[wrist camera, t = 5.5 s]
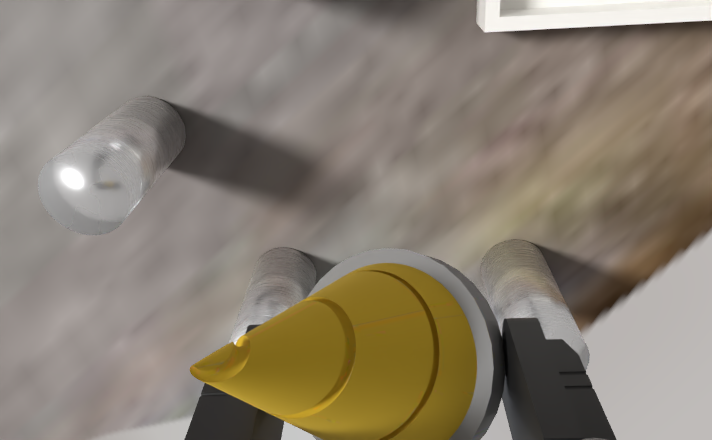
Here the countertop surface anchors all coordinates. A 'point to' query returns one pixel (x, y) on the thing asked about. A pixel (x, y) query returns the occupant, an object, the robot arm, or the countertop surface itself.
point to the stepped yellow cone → (374, 354)
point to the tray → (585, 13)
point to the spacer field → (277, 266)
